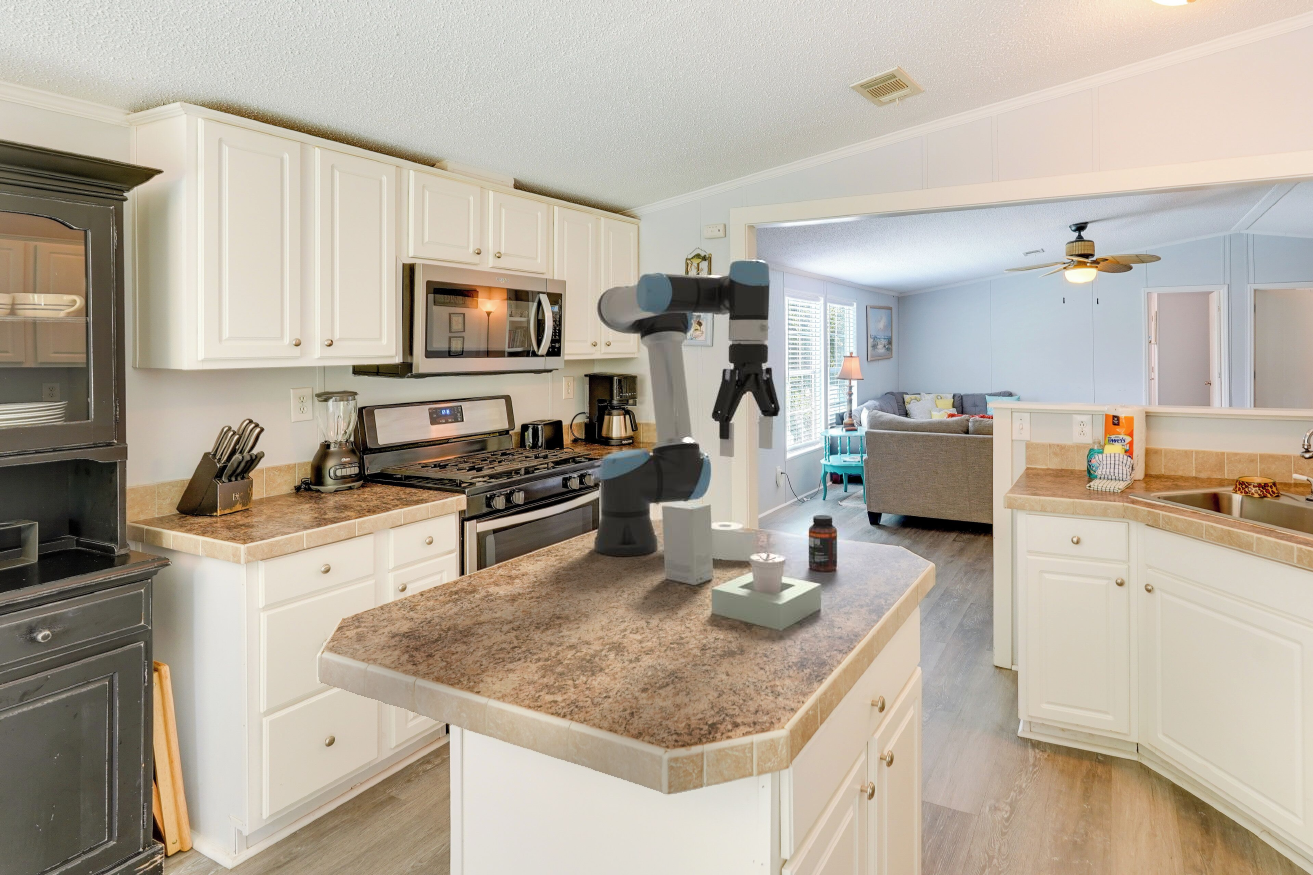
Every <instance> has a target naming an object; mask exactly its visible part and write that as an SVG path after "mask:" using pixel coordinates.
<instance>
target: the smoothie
mask: <svg viewBox="0 0 1313 875" xmlns="http://www.w3.org/2000/svg"><path fill="white" fill-rule="evenodd" d="M770 552H771V532H766V552H763V553H762V552H760V553H756V554H754V555H752V556H750V561H748V562H749V564H750V565H751V572H752V574H753V582H754V590H755V591H756V592H761V593H765V594H770V595H776V594H778V593H780V590H781V583H782V576H783V574H784V566H785V565H786V564H787V562H786V557H785V556H783V555H781V554H777V553H772V552H771V553H770Z"/></svg>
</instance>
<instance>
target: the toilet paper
mask: <svg viewBox="0 0 1313 875" xmlns="http://www.w3.org/2000/svg"><path fill="white" fill-rule="evenodd" d="M711 531H712V558H714V560H719V559H722V560H723V561H745V562H750V556H752V555H754V554H757V552H756V551H757V550H756V549H757V548H756V547H757V543H756V542H757V541H756V540H757V534H756V533H757V532H756V531H744V525H743V524H741V523H738V522H734V521H733V522H732V521H731V522H730V521H717V522H711Z"/></svg>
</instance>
